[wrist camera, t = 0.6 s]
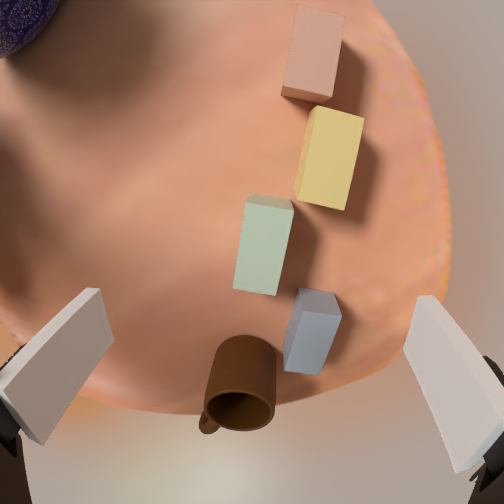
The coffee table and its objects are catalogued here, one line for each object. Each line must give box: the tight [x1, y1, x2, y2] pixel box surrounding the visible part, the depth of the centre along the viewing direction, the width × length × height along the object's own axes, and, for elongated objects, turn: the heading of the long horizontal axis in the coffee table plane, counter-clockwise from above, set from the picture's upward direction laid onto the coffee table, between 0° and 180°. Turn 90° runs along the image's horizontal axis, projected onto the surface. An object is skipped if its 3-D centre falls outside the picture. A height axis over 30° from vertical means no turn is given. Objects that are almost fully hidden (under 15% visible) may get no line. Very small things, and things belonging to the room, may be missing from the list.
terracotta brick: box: [281, 5, 345, 104], centre depth 21 cm, size 8×4×5 cm, turn 170°
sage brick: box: [233, 193, 294, 296], centre depth 28 cm, size 8×4×5 cm, turn 171°
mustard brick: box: [294, 105, 365, 211], centre depth 25 cm, size 8×4×5 cm, turn 170°
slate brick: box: [283, 287, 342, 375], centre depth 31 cm, size 8×4×5 cm, turn 171°
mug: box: [199, 335, 276, 434], centre depth 32 cm, size 12×8×9 cm, turn 143°
